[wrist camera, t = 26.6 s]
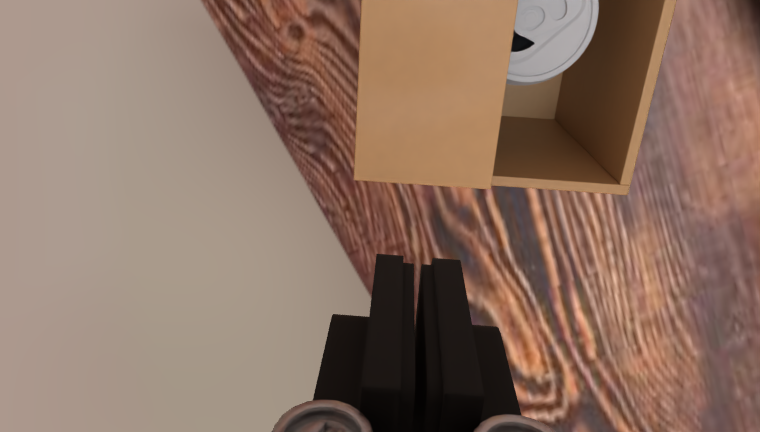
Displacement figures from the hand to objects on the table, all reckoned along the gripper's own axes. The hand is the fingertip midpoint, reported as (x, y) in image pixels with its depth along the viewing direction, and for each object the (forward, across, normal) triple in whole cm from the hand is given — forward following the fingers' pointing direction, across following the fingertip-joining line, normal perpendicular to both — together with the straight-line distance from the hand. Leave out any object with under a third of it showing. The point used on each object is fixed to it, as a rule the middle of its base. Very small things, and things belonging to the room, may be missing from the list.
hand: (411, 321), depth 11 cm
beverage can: (+29, -5, -5) cm, 30 cm away
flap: (+15, -1, -5) cm, 16 cm away
